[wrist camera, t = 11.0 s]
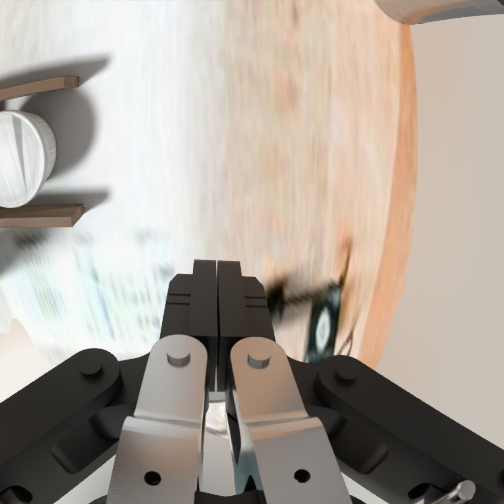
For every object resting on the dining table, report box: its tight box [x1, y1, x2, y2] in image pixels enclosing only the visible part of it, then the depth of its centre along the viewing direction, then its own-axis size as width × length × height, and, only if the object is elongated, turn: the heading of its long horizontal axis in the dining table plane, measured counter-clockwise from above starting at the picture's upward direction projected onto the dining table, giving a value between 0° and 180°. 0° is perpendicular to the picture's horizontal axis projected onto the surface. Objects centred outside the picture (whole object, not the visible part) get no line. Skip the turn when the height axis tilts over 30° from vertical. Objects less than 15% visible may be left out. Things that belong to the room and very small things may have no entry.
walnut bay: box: [0, 76, 84, 228], centre depth 28 cm, size 16×15×4 cm
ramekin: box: [0, 110, 56, 208], centre depth 27 cm, size 11×11×5 cm
